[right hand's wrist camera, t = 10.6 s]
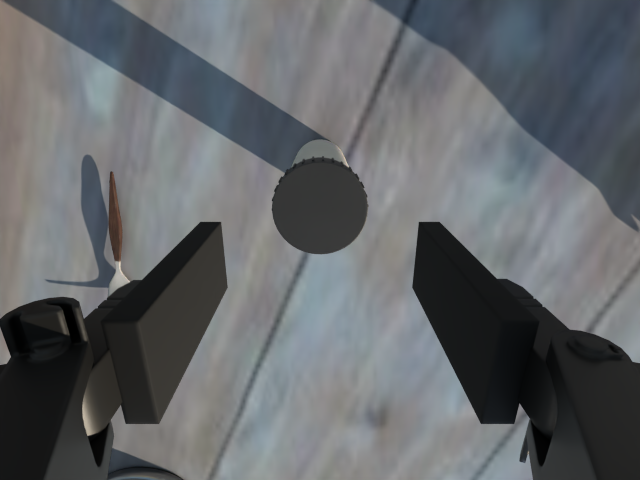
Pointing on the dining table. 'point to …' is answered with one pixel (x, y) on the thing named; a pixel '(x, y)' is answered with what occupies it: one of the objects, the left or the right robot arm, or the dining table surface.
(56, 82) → the dining table surface
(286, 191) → the lid
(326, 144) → the jar
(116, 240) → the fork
